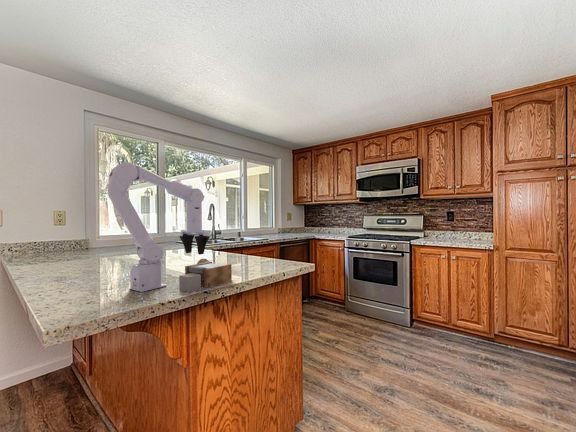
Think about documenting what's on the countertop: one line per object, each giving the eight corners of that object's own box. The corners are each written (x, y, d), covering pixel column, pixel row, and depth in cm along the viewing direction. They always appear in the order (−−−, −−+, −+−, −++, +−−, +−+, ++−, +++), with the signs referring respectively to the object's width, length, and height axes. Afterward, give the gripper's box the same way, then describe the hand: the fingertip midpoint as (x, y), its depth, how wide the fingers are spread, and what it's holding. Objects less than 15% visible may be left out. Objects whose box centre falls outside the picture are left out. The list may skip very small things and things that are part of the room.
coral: (212, 277, 118) (212, 262, 118) (197, 278, 116) (197, 263, 116) (210, 270, 132) (210, 257, 132) (196, 271, 130) (196, 258, 130)
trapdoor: (203, 274, 101) (203, 268, 101) (187, 271, 106) (187, 266, 106) (226, 268, 111) (226, 264, 111) (210, 266, 116) (210, 262, 116)
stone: (188, 292, 95) (188, 277, 95) (179, 290, 98) (179, 275, 98) (200, 288, 99) (200, 274, 99) (191, 287, 102) (191, 273, 102)
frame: (206, 287, 101) (206, 269, 101) (185, 283, 107) (185, 266, 107) (231, 280, 111) (231, 264, 110) (210, 277, 117) (210, 261, 117)
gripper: (214, 218, 112) (215, 253, 112) (191, 218, 120) (191, 251, 120) (199, 219, 106) (200, 255, 106) (176, 219, 114) (176, 253, 114)
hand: (194, 253), depth 113 cm, fingers open, 7 cm apart
